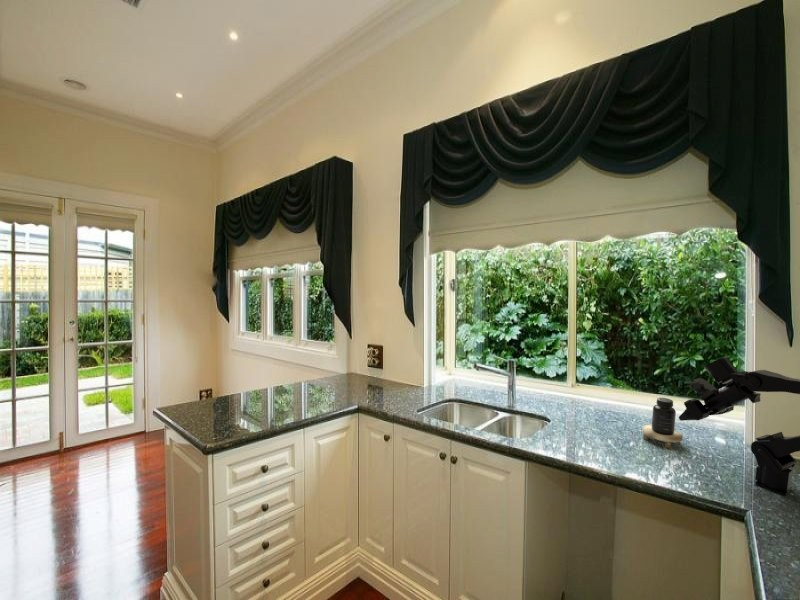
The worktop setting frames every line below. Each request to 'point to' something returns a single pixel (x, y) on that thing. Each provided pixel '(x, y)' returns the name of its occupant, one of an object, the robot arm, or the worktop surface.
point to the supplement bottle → (663, 417)
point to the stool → (662, 436)
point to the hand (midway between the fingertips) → (687, 416)
